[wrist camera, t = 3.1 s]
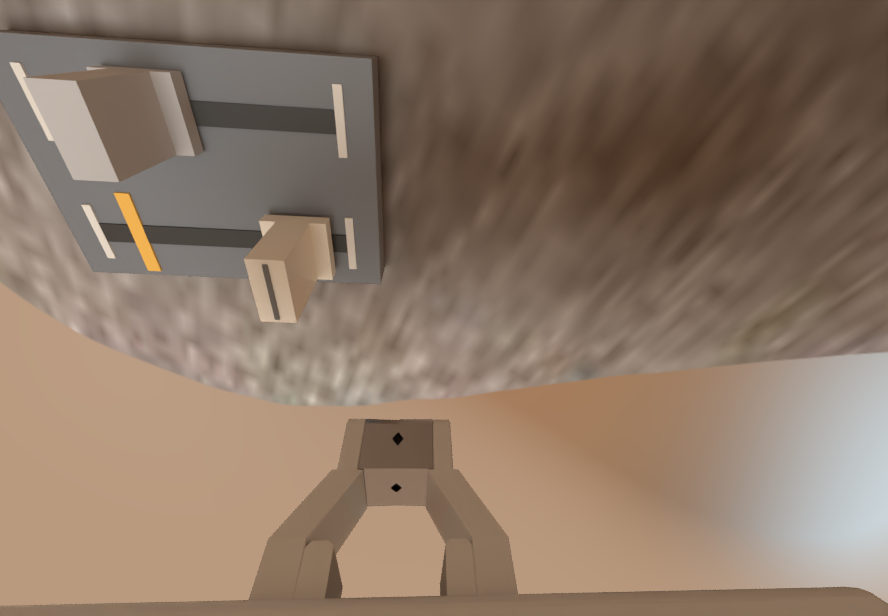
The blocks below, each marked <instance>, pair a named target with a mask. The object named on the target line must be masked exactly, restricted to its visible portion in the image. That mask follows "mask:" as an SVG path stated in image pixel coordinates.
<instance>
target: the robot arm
mask: <svg viewBox="0 0 888 616" xmlns="http://www.w3.org/2000/svg"><path fill="white" fill-rule="evenodd" d="M450 429H451V428H450V422H449V420H432V419H406V420H403V419H401V420H378V419H349V420H348V422H347V425H346V430H345V435H344V440H343V444H342V449H341V454H340V459H339V463H338V468H337V470H331V471H330V472H329V474H328V475H327V476H326V477H325V478H324V479H323V480H322V481H321V482H320V483H319V485H318V486H317V487H316V488H315V489H314V490H313V491H312V492H311V493H310V494H309V495H308V497H306V499H305V500H304V501H303V502H302V503H301V504H300V505H299V506H298V507H297V509H295V511H294V512H293V513H292V514H291V515H290V516H289V517H288V518H287V519H286V520H285V521H284V523H283V524H282V525H281V526H280V527H279V528H278V529H277V530H276V531H275V532H274V533H273V535H272V536H271V537H270V538H269V539H268V541H267V545H266V548H265V551H264V554H263V557H262V560H261V563H260V566H259V570H258V573H257V576H256V579H255V582H254V585H253V588H252V591H251V594H250V597H249V600H242V601H241V600H238V601H194V602H154V603H153V602H149V603H108V604H107V603H106V604H64V605H62V604H61V605H20V606H19V605H18V606H0V616H888V603H886V602H884V601H883V600H881V599H880V598H878V597H877V596H875V595H874V594H872V593H870V592H868V591H865V590H862V589H859V588H851V587H826V588H824V587H823V588H781V589H780V588H778V589H734V590H689V591H688V590H687V591H647V592H646V591H645V592H644V591H643V592H602V593H601V592H599V593H551V594H518V592H517V586H516V580H515V574H514V568H513V562H512V556H511V550H510V544H509V538H508V536H507V535H506V533H505V532H504V530H503V529H502V528H501V526H500V525H499V524H498V522H497V521H496V520H495V518H494V517H493V516H492V514H491V513H490V512H489V510H488V509H487V508H486V506H485V505H484V504H483V502H482V501H481V500H480V498H479V497H478V496H477V494H476V493H475V491H474V490H473V489H472V488H471V486H470V485H469V483H468V482H467V481H466V479H465V478H464V477H463V476H462V474H461V473H460V471H459V470H455V469H453V459H452V444H451V430H450ZM390 505H406V506H408V505H409V506H410V505H411V506H426V509H427V511H428V513H429V514H430V516H431V518H432V520H433V522H434V524H435V525H436V527H437V529H438V531H439V533H440V535H441V536H442V538H443V540H444V542H445V544H446V546H445V553H444V560H443V567H442V574H441V581H440V596H416V597H371V598H341V594H342V582H341V578H340V573H339V568H338V563H337V559H336V553H337V552H338V551H339V549H340V548H341V546H342V545H343V543H344V542H345V540H346V539H347V537H348V535H349V534H350V533H351V531H352V530H353V528H354V527H355V525H356V524H357V522H358V521H359V519H360V518H361V516H362V515H363V514H364V512H365V511H366V509H367V506H390Z"/></svg>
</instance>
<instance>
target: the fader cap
mask: <svg viewBox="0 0 888 616" xmlns="http://www.w3.org/2000/svg"><path fill="white" fill-rule="evenodd" d="M259 223H260V228H261V232H262V236H263V237H262V238H261V239H260V241H259V242H258V243H257V244H256V245H255V246H254V248H253V249H252V250H251V251H250V252H249V254H248V255H247V256H246V257H245V258H244V262H245V265H246V269H247V273H248V276H249V280H250V284H251V287H252V291H253V295H254V298H255V302H256V306H257V309H258V313H259V316H260V320H261V321H263V322H289V323H297V321H298V319H299V317H300V315H301V313H302V311H303V309H304V306H305V304H306V302H307V300H308V298H309V296H310V294H311V292H312V290H313V288H314V286H315V284H316V282H317V280H318V279H321V280H333V278H334V276H335V273H336V269H335V261H334V253H333V244H332V236H331V227H330V219H329V218H324V217H305V216H285V215H264V216H263V217H262V218H261V219H260V220H259Z"/></svg>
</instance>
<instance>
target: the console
mask: <svg viewBox="0 0 888 616" xmlns="http://www.w3.org/2000/svg"><path fill="white" fill-rule="evenodd" d="M0 101H1V103H2V104H3V106H4V108H5V110H6V112H7V114H8V115H9V117H10V119H11V121H12V123H13V125H14V127H15V128H16V130H17V132H18V134H19V136H20V138H21V139H22V141H23V143H24V145H25V147H26V149H27V151H28V152H29V154H30V156H31V158H32V160H33V162H34V163H35V165H36V167H37V169H38V171H39V173H40V174H41V176H42V178H43V180H44V182H45V184H46V186H47V187H48V189H49V191H50V193H51V195H52V197H53V198H54V200H55V202H56V204H57V206H58V208H59V210H60V211H61V213H62V215H63V217H64V219H65V221H66V222H67V224H68V226H69V228H70V230H71V232H72V233H73V235H74V237H75V239H76V241H77V243H78V245H79V246H80V248H81V250H82V252H83V254H84V256H85V257H86V259H87V261H88V263H89V265H90V267H91V269H92V270H93V272H108V273H131V274H155V275H178V276H201V277H224V278H247V279H249V276H248V273H247V269H246V265H245V262H244V258H245V257H246V256H247V255H248V254H249V252H250V251H251V250H252V249H253V248H254V246H255V245H256V244H257V243H258V242H259V241H260V239H261V238H262V237H263V236H262V232H261V228H260V223H259V220H260V219H261V218H262V217H263V216H264V215H285V216H305V217H324V218H329V219H330V227H331V236H332V244H333V253H334V261H335V269H336V273H335V276H334V278H333V280H321V279H318V280H317V282H340V283H364V284H381V281H382V276H383V272H384V267H385V265H384V235H383V205H382V175H381V145H380V115H379V85H378V56H366V55H352V54H338V53H324V52H310V51H296V50H282V49H268V48H254V47H240V46H226V45H212V44H198V43H184V42H170V41H156V40H142V39H128V38H114V37H100V36H86V35H72V34H58V33H44V32H30V31H16V30H0Z"/></svg>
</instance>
